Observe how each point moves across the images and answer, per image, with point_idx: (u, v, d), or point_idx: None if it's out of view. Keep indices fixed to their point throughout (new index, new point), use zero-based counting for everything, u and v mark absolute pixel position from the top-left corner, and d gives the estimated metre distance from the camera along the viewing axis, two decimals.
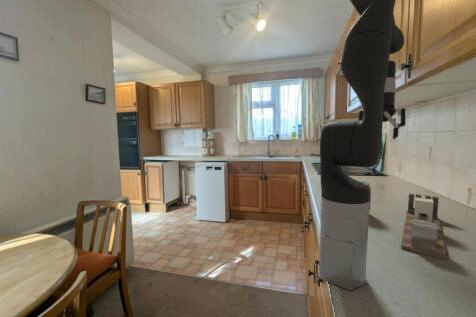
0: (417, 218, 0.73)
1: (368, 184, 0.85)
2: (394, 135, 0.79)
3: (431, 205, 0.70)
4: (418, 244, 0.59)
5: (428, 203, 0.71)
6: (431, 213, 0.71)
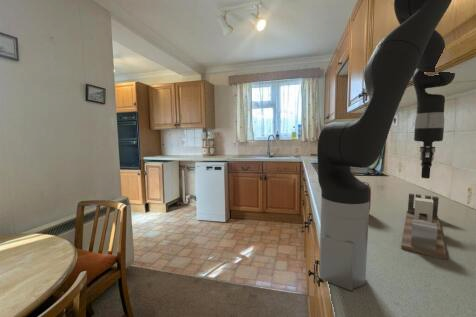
0: (417, 218, 0.73)
1: (368, 184, 0.85)
2: (429, 174, 0.78)
3: (431, 205, 0.70)
4: (418, 244, 0.59)
5: (428, 203, 0.71)
6: (431, 213, 0.71)
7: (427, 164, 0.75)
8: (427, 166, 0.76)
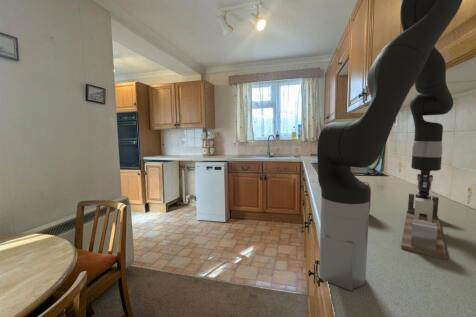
0: (417, 219, 0.73)
1: (368, 184, 0.85)
2: None
3: (431, 205, 0.70)
4: (418, 244, 0.59)
5: (428, 203, 0.71)
6: (431, 213, 0.70)
7: (424, 193, 0.73)
8: (424, 195, 0.74)
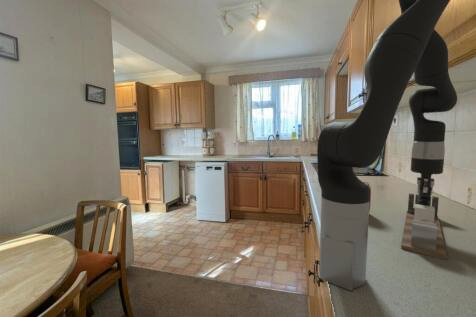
0: None
1: (368, 184, 0.85)
2: None
3: (432, 213, 0.63)
4: (418, 244, 0.59)
5: (429, 211, 0.64)
6: (432, 222, 0.63)
7: (425, 199, 0.67)
8: (425, 201, 0.67)
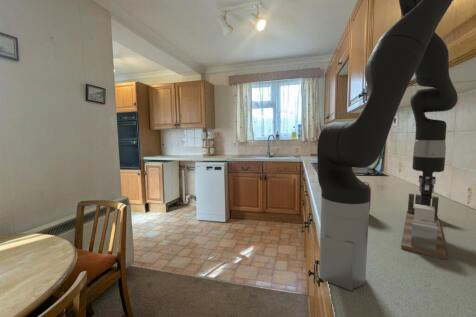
0: None
1: (368, 184, 0.85)
2: None
3: (432, 213, 0.63)
4: (418, 244, 0.59)
5: (429, 211, 0.64)
6: (432, 222, 0.63)
7: (427, 196, 0.68)
8: (427, 198, 0.69)
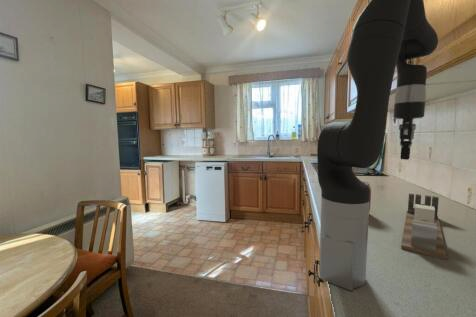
0: None
1: (368, 184, 0.85)
2: (409, 155, 0.70)
3: (432, 213, 0.63)
4: (418, 244, 0.59)
5: (429, 211, 0.64)
6: (432, 222, 0.63)
7: (406, 143, 0.67)
8: (406, 145, 0.68)
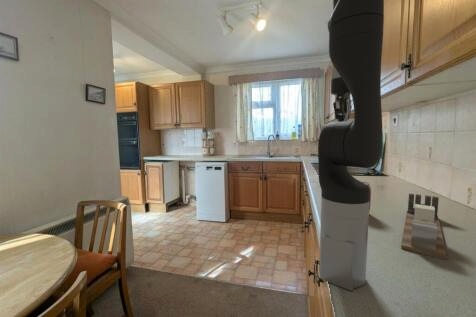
0: None
1: (368, 184, 0.85)
2: None
3: (432, 213, 0.63)
4: (418, 244, 0.59)
5: (429, 211, 0.64)
6: (432, 222, 0.63)
7: (340, 116, 0.70)
8: (341, 119, 0.71)
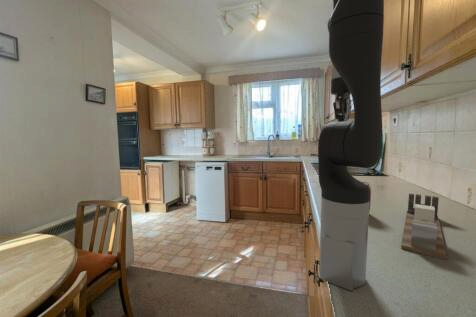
0: None
1: (368, 184, 0.85)
2: None
3: (432, 213, 0.63)
4: (418, 244, 0.59)
5: (429, 211, 0.64)
6: (432, 222, 0.63)
7: (340, 116, 0.70)
8: (341, 119, 0.71)
